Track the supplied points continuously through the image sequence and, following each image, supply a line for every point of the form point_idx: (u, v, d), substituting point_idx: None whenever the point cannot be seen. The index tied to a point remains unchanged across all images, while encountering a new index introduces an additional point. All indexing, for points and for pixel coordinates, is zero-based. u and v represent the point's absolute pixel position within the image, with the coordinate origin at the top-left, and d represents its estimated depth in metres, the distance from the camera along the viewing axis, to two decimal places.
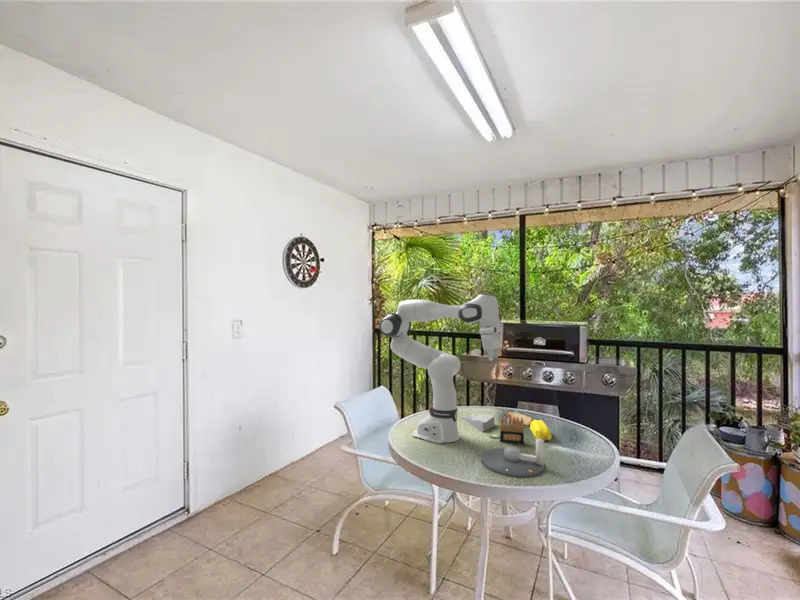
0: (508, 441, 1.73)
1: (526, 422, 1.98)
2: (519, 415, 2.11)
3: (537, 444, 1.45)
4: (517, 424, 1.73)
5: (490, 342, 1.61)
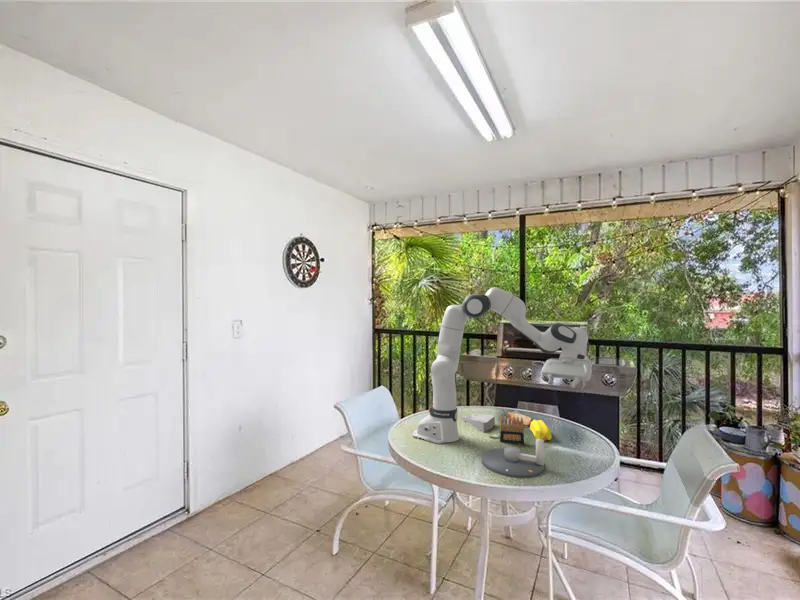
0: (508, 441, 1.73)
1: (525, 422, 1.98)
2: (519, 415, 2.11)
3: (537, 444, 1.45)
4: (517, 424, 1.73)
5: (591, 374, 1.56)
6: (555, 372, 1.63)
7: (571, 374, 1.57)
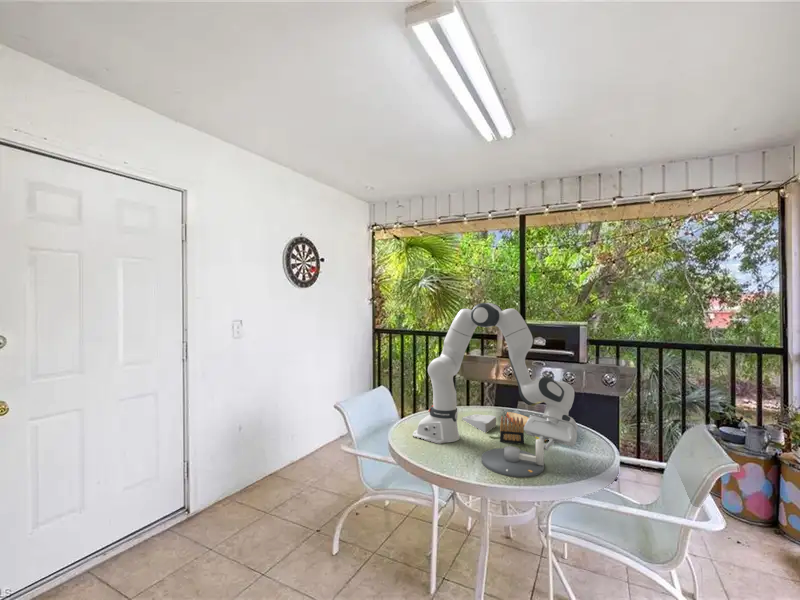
0: (508, 441, 1.73)
1: (523, 422, 1.98)
2: (517, 415, 2.10)
3: (537, 444, 1.45)
4: (517, 424, 1.73)
5: (576, 438, 1.44)
6: (537, 432, 1.51)
7: (555, 437, 1.45)
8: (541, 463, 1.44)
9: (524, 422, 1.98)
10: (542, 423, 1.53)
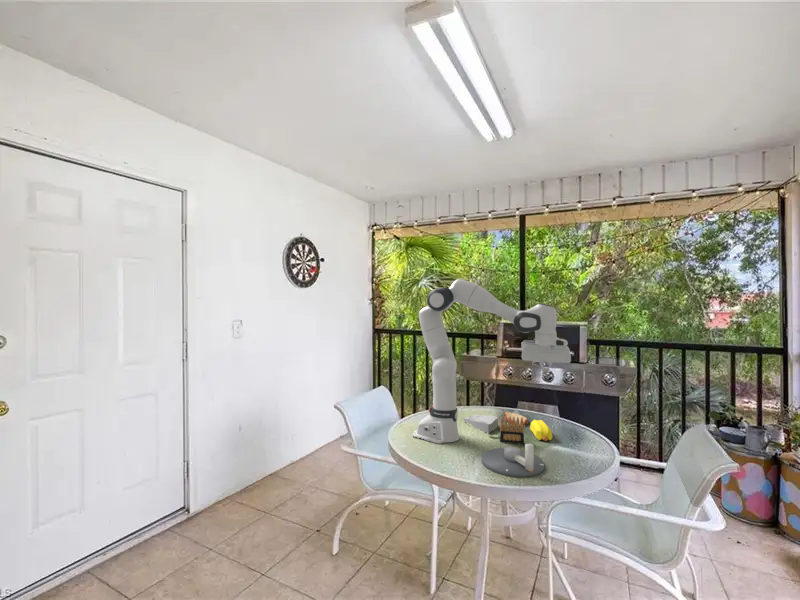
0: (508, 441, 1.73)
1: None
2: (515, 415, 2.10)
3: (525, 448, 1.41)
4: (517, 424, 1.73)
5: (570, 354, 1.62)
6: (537, 360, 1.65)
7: (554, 361, 1.62)
8: (528, 468, 1.39)
9: None
10: (537, 350, 1.65)
